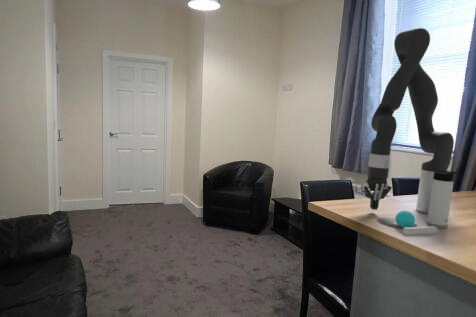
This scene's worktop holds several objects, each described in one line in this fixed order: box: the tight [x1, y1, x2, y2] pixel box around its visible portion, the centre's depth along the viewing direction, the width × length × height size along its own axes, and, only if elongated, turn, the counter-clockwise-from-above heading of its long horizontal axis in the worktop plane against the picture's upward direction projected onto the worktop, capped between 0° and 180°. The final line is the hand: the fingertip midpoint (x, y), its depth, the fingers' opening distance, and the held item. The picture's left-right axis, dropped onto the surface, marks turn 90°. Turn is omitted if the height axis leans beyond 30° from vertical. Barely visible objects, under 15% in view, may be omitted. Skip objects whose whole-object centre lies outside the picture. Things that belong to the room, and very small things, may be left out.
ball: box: [395, 210, 416, 228], centre depth 116 cm, size 6×6×6 cm
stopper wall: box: [402, 225, 438, 236], centre depth 112 cm, size 12×2×2 cm, turn 106°
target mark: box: [377, 216, 418, 230], centre depth 122 cm, size 13×13×1 cm
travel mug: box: [426, 170, 457, 229], centre depth 120 cm, size 6×7×20 cm
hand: (373, 209), depth 134 cm, fingers closed
